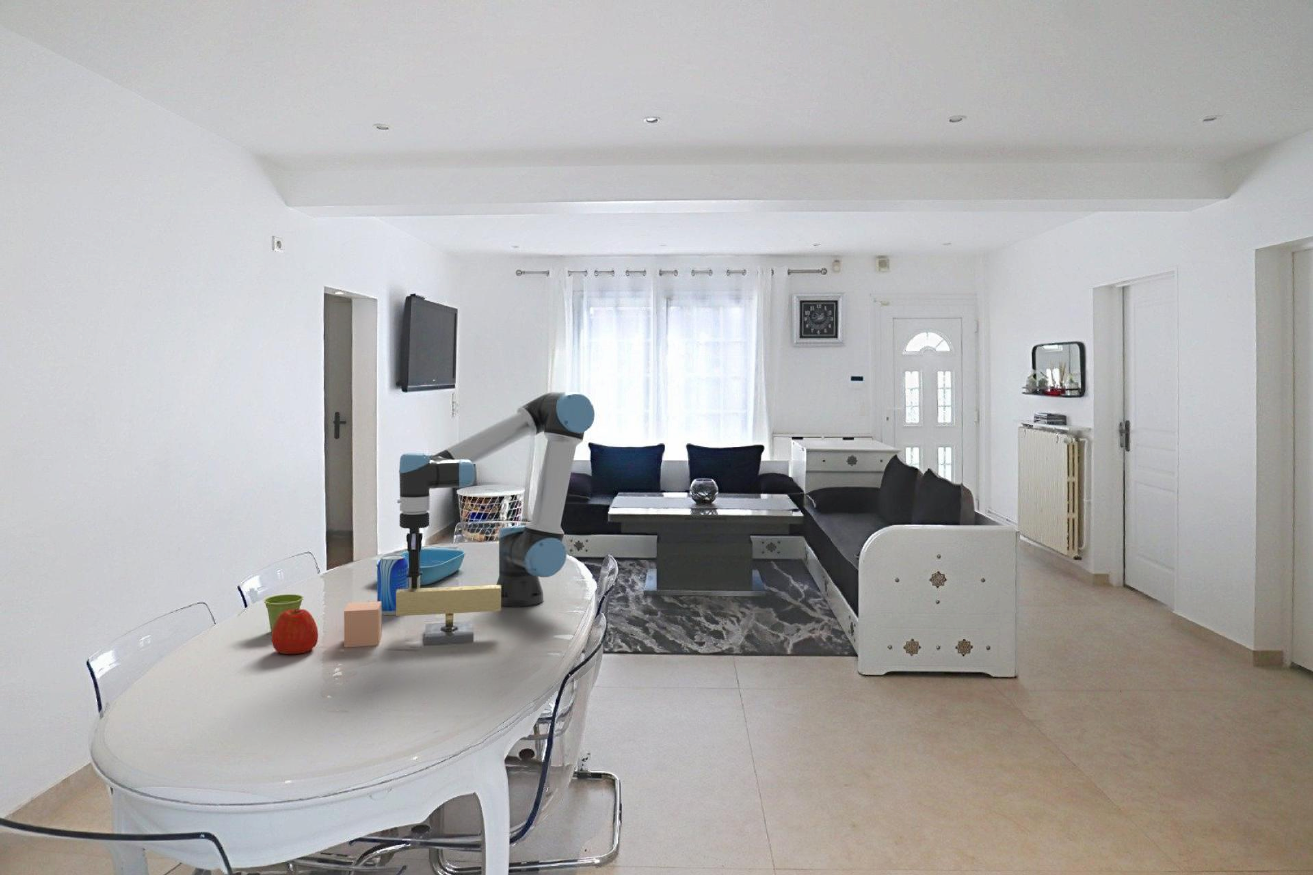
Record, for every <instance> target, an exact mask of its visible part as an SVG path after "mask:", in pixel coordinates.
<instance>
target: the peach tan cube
mask: <svg viewBox="0 0 1313 875" xmlns="http://www.w3.org/2000/svg"><path fill="white" fill-rule="evenodd" d="M382 618H383V617H382V601H379V602H377V601H365V602H364V601H361V602H348V603H347V605H346V607H345V609H344V610H343V631H344V632H343V634H344V635H343V636H344V637H343V638H344V639H343V645H344V646H343V647H344V648H353V647H354V648H355V647H356V648H357V647H371V646H379V645H380V641H381V638H382V632H383V630H382V624H383V623H382V621H383V620H382Z"/></svg>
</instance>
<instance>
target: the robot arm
mask: <svg viewBox="0 0 1313 875" xmlns="http://www.w3.org/2000/svg"><path fill="white" fill-rule="evenodd" d="M595 415H596V414H595V409H594V405H593V404H592V402H591V401H590V399H589V397H587V396H586V395H584V394H582V393H579V392H575V391H551V392H547V393H545V394H542V395H540V396H538V397H537V398H534V399H533V400H531V401H529V402H528V403H526V404H524V405H522V406H520V407H518V408H517V411H516V413H514V414H511V415H509V416H508V417H505V418H504V419H502V420H501V421H498V422H496V423H494V424H492V425H490V426H489V427H487V428H485V429H483V430H481V431H478V432H477V433H475V434H473V435H471V436H469V437H466V439H465V438H464V439H463V440H461V441H459V442H458V443H456V444H454V445H451V446H450V447H447V448H446V449H444V450H442V451H440V452H438V453H436V454H434V455H432V454H431V455H430V454H428V453H424V452H417V453H415V452H414V453H413V452H410V453H404V454H402V455H401V456H400V458H399V469H398V473H399V499H397V501H396V503H397V504H399V511H400V514H399V527H400V528H401V529H408V530H409V533H406V536H405V537H406V542H407V543H406V545H407V546H406V547H407V550H406V551H408V552H409V575H406V578H407V577H409V585H408V589H416V588H421V585H420V575H422V574H423V572H420V551H421V549H422V547H423V546H422V541H423V537H424V535H423V532H420V531H421V530H420V529H425V528H429V526H430V513H429V512H428V511H430V509H431V508H430V503H431V501H430V499H431V498H430V495H431V494H430V489H433V490H434V489H447V488H448V489H450V488H451V489H452V488H459V489H460V488H466V487H470V486H472V484H473V483H474V481H475V467H474V465H475V464H476V463H479V462H481V461H483V460H484V459H486V458H488V457H490V456H492V455H494V454H496V453H497V452H499V451H502V450H503V449H505V448H507V447H509V446H511V445H512V444H515V443H516V442H518V441H520V440H522V439H524V438H526V437H527V436H530V437H535V436H537V435H538V434H541V433H543V435H544V436H545V438H546V441H547V442H546V446H545V451H544V457H543V461H542V467H541V470H540V476H539V480H538V484H537V485H538V486H537V490H536V491H537V492H536V495H535V501H534V505H533V510H532V515H531V520H530V521H529V522H527V523H526V524H525V525H521V524H520V525H511V526H504V527H501V528H500V529H499V535H498V570H499V571H498V579H497V581H496V583H495V585H501V607H502V606H503V607H529V606H534V605H538V604H540V603H542V602H543V601H544V591H543V587H542V584H541V581H540V578H550V577H553V576H554V575H556V574H557V573H558V572H560V571H561V570H562V568H563V567H564V565H565V564H566V560H567V555H568V554H567V552H568V551H567V548H566V547H565V545H564V543H563V542H564V541H563V540H564V536H565V532H564V530H563V529H562V526H561V523H562V519H563V514H564V509H565V504H566V499H567V494H568V490H569V485H570V478H571V474H572V471H573V464H574V460H575V455H576V450H577V447H578V445H579V444H581V443H583V441H584V438H585V437H584V436H585V432H586V431H588V430H589V429H590V428H591V427H592V425H593V424H594V422H595Z"/></svg>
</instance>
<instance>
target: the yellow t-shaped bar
mask: <svg viewBox="0 0 1313 875" xmlns="http://www.w3.org/2000/svg"><path fill="white" fill-rule="evenodd" d="M485 612H488V613H489V612H502V605H501V585H496V584H494V585H493V584H491V585H489V584H488V585H469V586H467V585H466V586H447V587H446V586H445V587H422V588H421V587H420V588H416V589H409V588H408V589H397V591H396V615H395V616H396V617H407V616H426V615H427V616H429V615H445V616H444V617H445V618H444V619H445V622H444V623H445V627H447V628H451V627H453V622H454V614H465V613H467V614H468V613H485Z"/></svg>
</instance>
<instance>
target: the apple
mask: <svg viewBox="0 0 1313 875" xmlns="http://www.w3.org/2000/svg"><path fill="white" fill-rule="evenodd" d="M318 639H319V630H318V626H317V624H316V621H315V619H314V617H313V615H312V614H311V613H310V612H309V611H308V610H306V609H301V608H300V609H292V610H288V611H285V612H283V613H282V614H281V615H280V616H279V618H278V619H277V621H276V623H275V625H274V627H273V630H272V633H271V644H272V646H273V649H274V650H275V651H276V652H277V653H280V654H285V655H298V654H305V653H308V652H309V651H311V650H312V649H314V648H316V646H317V643H318V641H319V640H318Z"/></svg>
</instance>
